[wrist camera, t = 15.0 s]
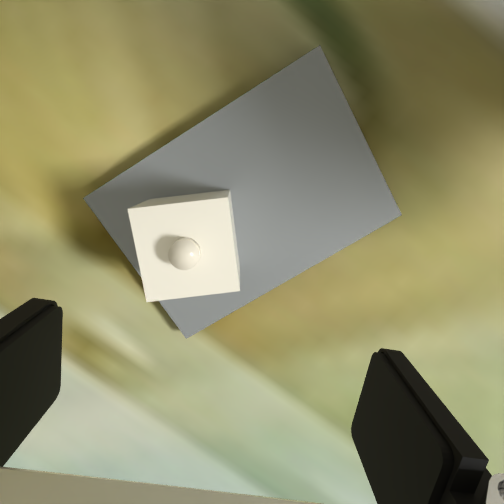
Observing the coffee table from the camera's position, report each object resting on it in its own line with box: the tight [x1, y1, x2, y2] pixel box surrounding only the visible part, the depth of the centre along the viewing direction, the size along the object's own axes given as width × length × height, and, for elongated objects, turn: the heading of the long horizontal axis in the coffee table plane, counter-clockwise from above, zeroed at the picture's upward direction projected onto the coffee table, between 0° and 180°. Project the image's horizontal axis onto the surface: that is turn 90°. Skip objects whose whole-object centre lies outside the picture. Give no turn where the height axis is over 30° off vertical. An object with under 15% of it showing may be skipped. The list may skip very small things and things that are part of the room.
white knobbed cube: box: [128, 190, 240, 302], centre depth 26 cm, size 7×7×7 cm
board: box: [83, 45, 402, 339], centre depth 29 cm, size 22×15×1 cm
